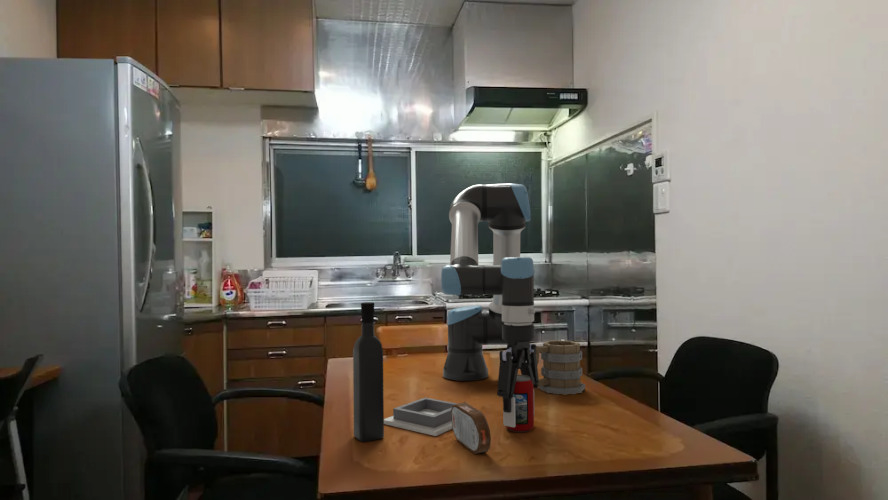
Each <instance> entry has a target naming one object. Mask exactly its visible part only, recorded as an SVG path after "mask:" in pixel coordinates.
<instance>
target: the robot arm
mask: <svg viewBox="0 0 888 500" xmlns="http://www.w3.org/2000/svg"><path fill="white" fill-rule="evenodd" d="M448 219H449V220H448V221H450V223H451V235H450V237H451V239H450V259H449V265H443V266H442V268H441V274H440V275H441V277H440V278H441V279H440V281H441V291H442V294H444V295H446V296H448V295H449V296H457V297H458V296H483V295H484V296H493V297H492V298H493V299H492V301H491V302H489V304H488V309H483V307H482V305H477V304H476V305H467V306H462V307H456V308H452V309H450V310H449V311H448V313H447V323H446V325H447V354H446V355H447V356H446V358H445V362H444V366H443V368H442V377H443V378H445V379H447V380H452V381H458V382H459V381H462V382H463V381H464V382H465V381H466V382H467V381H469V382H471V381H480V380H484V379H486V378H488V377H489V368H488V366H487V363H486V360H485V358H484V357H485V356H484V353H483V345H484V346H486V345H488V346H491V345H494V346H497V345H498V346H506V350H500V351H499V353H498V354H499V356H498V357H499V367H498V369H499V370H498V380H497V389H496V392H497V393H496V395H497V396H498V397H501V398H502V413H503V414H502V415H503V416H502V417H503V426H504V427H506V426H509V427H516V419H515V397H513V394H514V389H515V384H516V379H517V375H519V374H518V373H519V370H520V375H527V376H529V377H530V379H531V381H532V383H533V386H534V389H539V386H538V383H539V379H540V378H539V372H538V371H539V370H538V365H537V360H536V346H537V345H536V343H531V342H532V341H534V340H535V337H536V336H535V333H536V331H535V325H534V324H533V322H535V314H536V309H535V302H534V301H535V299H534V296H535V295H534V294H535V293H534V291H535V290H534V289H535V283H534V282H535V279H534V278H535V277H534V276H535V269H534V260H533V258H532V257H527V256H526V257H525V256H522V257H521V232H522V231H523V230H524V229H526V223H527V222H530V221H531V206H530V200H529V193H528V189H527V187H526V186H525V185H524V184H523V183H522V184H520V183H519V184H518V183H511V182H510V183H491V184H490V183H489V184H488V183H487V184H482V183H480V184H478V183H477V184H474V185H471V186H468V187H467V188H464V189H463V190H461V191H460V192H459V193H458V194H457V195H456V196H455V198H454V199H453V200H452V202H451V204H450V207H449V212H448ZM480 222H482V223H483V222H486V223H487V222H488V228H489V229H490V230H491V231H492V233H493V235H492V236H493V238H492V239H493V246H492V247H493V248H492V249H493V250H492V251H493V254H492V257H493V259H492V260H493V261H492V262H493V264H489V265H488V264H482V265H481V264H479V237H478V236H479V235H478V234H479V231H478V230H479V227H478V225H479V223H480ZM530 343H531V344H530Z"/></svg>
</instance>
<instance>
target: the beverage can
mask: <svg viewBox="0 0 888 500" xmlns="http://www.w3.org/2000/svg"><path fill="white" fill-rule="evenodd" d="M513 397H515V419H516V427H509V426H505V427H506V428H507V429H508V430H509V431H512V432H514V433H526V432H529V431H530V430H532V429H534V427H535V388H534V386H533V383H532V381H531V379H530V377H529V376H527V375H521V374H517V379H516V384H515V389H514V394H513Z"/></svg>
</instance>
